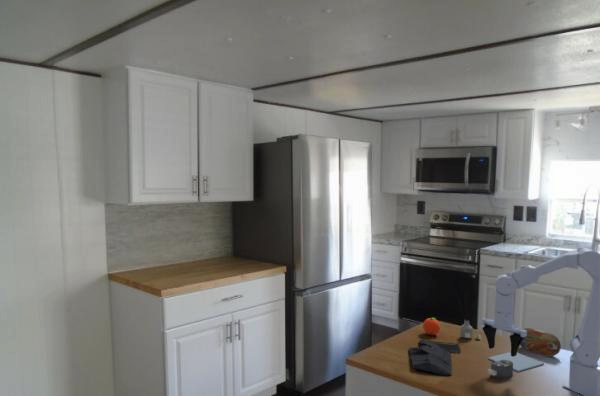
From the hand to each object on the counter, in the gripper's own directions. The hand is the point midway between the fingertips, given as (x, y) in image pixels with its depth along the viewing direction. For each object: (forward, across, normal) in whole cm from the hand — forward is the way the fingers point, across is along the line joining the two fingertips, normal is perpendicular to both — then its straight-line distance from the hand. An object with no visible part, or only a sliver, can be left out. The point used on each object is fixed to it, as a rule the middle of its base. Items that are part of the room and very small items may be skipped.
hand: (502, 351), depth 143 cm
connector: (+8, 0, 0) cm, 8 cm away
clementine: (+8, +38, -12) cm, 40 cm away
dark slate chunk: (+9, +20, +11) cm, 25 cm away
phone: (+8, +27, -3) cm, 28 cm away
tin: (+8, +3, -31) cm, 32 cm away
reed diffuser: (+8, +27, -22) cm, 36 cm away
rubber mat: (+8, +3, -15) cm, 17 cm away
